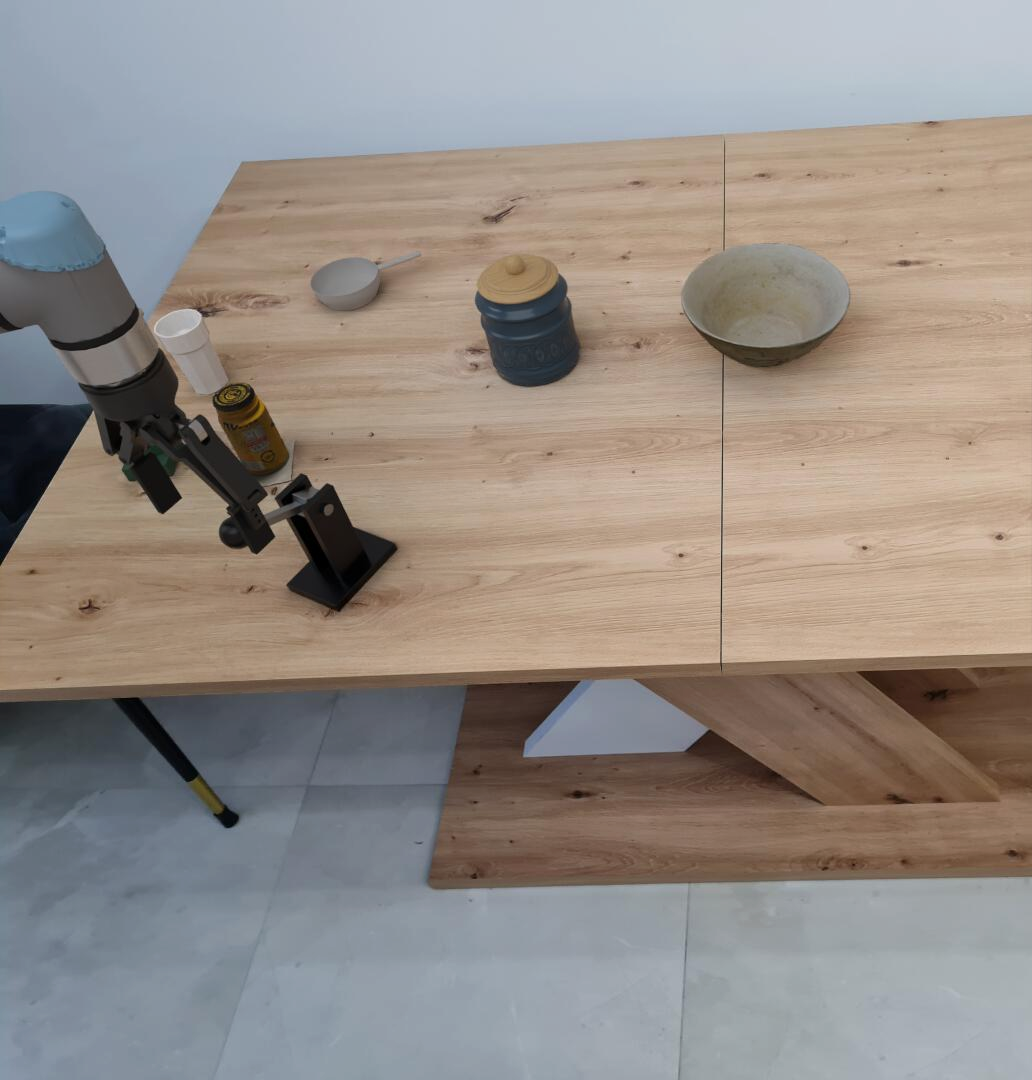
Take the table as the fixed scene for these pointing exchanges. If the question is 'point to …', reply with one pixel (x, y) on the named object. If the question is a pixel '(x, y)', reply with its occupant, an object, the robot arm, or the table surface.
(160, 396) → the robot arm
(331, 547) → the lever base
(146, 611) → the table surface
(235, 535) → the ball lever handle
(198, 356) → the cup
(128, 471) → the control block
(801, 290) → the bowl
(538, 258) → the canister
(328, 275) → the saucepan
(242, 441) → the condiment
